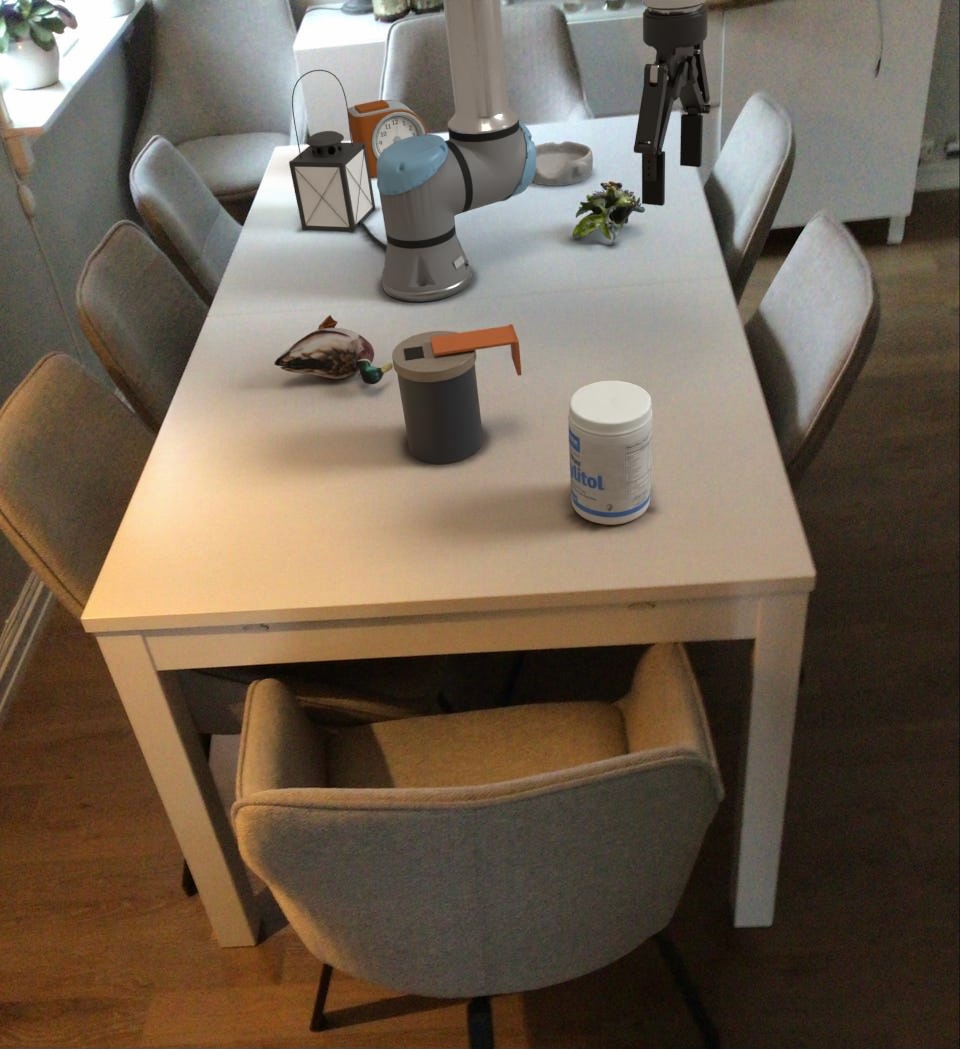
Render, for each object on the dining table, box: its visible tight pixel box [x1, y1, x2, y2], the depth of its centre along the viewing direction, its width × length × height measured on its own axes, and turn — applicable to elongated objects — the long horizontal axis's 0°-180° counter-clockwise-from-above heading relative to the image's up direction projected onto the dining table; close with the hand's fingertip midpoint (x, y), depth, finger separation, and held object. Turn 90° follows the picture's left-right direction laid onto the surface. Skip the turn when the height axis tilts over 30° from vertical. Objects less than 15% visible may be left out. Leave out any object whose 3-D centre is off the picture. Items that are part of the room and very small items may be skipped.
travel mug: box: [391, 330, 484, 465], centre depth 141 cm, size 11×11×14 cm
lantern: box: [288, 69, 377, 233], centre depth 203 cm, size 11×11×28 cm
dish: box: [531, 140, 594, 186], centre depth 218 cm, size 14×14×5 cm
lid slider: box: [430, 323, 523, 376], centre depth 138 cm, size 11×5×5 cm, turn 98°
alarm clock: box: [347, 99, 428, 179], centre depth 228 cm, size 15×8×14 cm, turn 111°
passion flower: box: [571, 180, 646, 247], centre depth 191 cm, size 11×11×12 cm
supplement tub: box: [567, 380, 653, 526], centre depth 126 cm, size 10×10×15 cm
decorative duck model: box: [273, 314, 393, 385], centre depth 158 cm, size 15×8×15 cm
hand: (672, 184), depth 139 cm, fingers open, 13 cm apart
